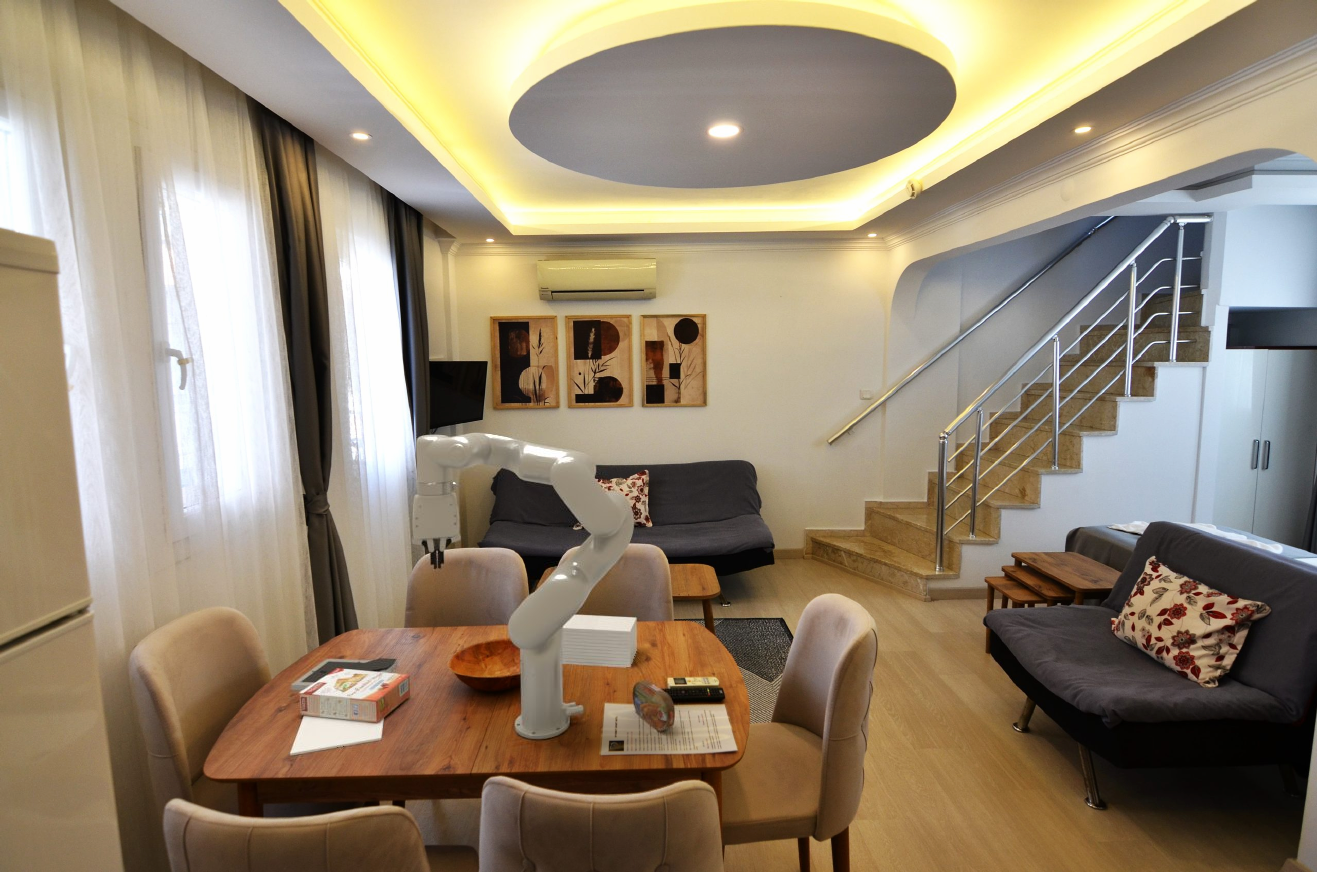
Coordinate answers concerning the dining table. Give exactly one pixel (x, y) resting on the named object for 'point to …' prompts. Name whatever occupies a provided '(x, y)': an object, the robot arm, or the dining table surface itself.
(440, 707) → the dining table surface
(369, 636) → the dining table surface
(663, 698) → the tin
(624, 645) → the stack of papers
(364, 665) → the picture frame
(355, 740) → the white flat panel
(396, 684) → the cracker box
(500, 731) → the dining table surface
